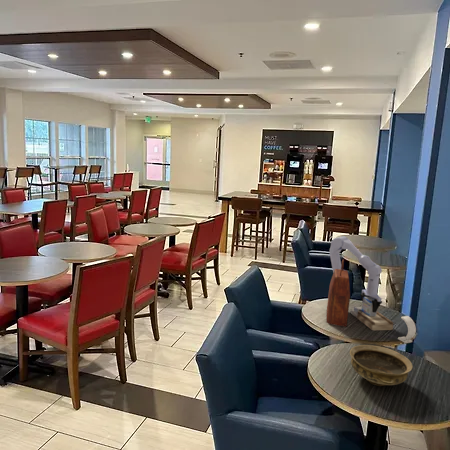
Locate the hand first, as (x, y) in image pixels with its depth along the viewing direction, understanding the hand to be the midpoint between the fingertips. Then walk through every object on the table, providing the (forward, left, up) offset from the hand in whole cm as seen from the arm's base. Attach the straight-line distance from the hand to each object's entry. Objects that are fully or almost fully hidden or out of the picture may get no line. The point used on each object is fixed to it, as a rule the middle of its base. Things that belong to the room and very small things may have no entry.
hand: (369, 309), depth 230 cm
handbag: (-1, -19, -6) cm, 20 cm away
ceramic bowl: (+61, -32, -6) cm, 70 cm away
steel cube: (-4, -3, -3) cm, 6 cm away
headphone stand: (+27, +5, -6) cm, 29 cm away
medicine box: (0, 0, -3) cm, 3 cm away
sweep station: (+2, 0, -6) cm, 6 cm away
